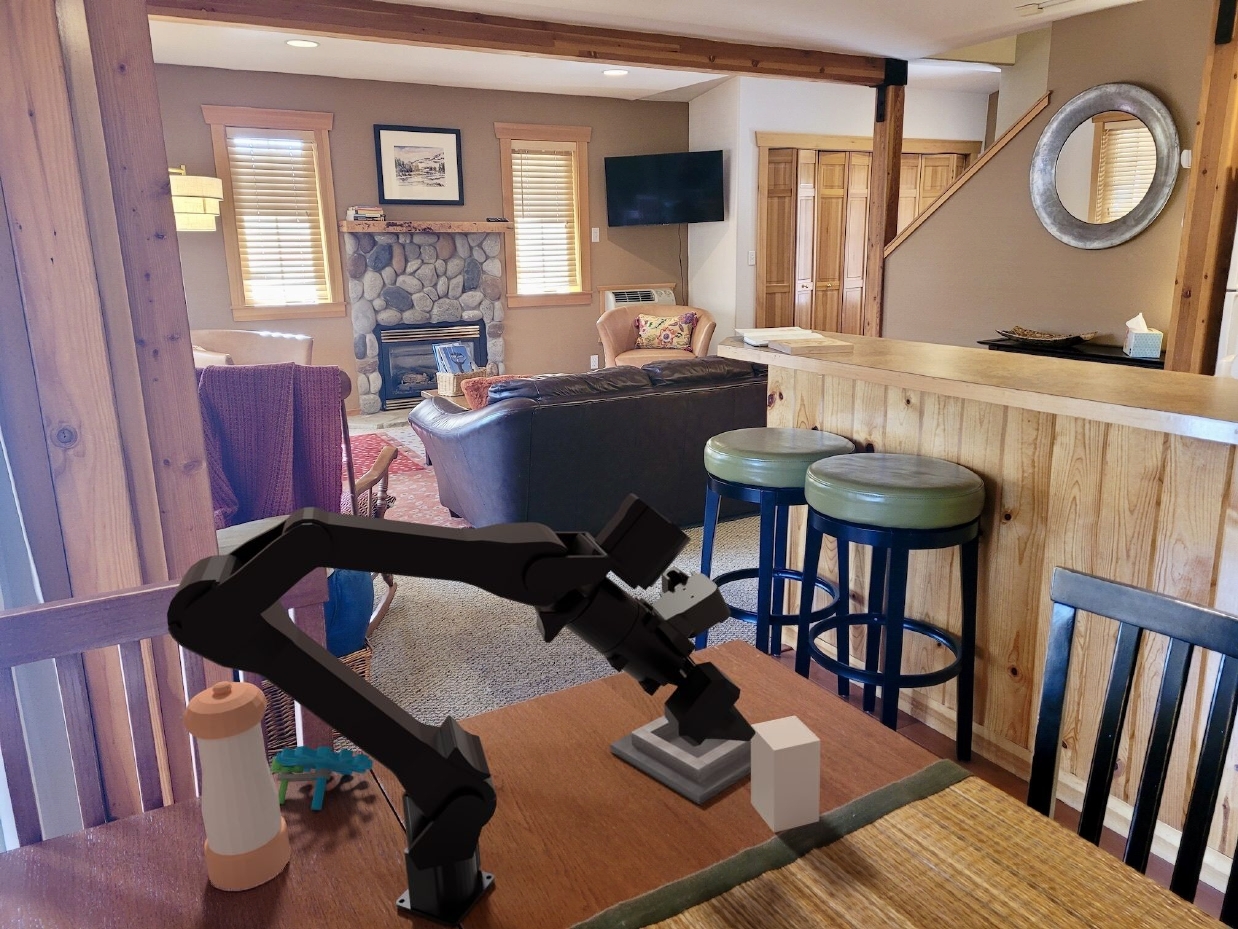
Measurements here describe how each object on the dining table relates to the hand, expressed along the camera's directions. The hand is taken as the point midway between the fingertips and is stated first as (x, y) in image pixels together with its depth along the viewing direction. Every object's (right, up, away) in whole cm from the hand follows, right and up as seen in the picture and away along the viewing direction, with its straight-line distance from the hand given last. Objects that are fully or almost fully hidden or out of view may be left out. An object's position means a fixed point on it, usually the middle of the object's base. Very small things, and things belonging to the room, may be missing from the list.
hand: (730, 712), depth 83 cm
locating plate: (-2, -9, +16) cm, 18 cm away
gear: (-43, -12, +11) cm, 46 cm away
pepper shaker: (-46, -15, 0) cm, 48 cm away
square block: (+6, -11, +5) cm, 14 cm away
